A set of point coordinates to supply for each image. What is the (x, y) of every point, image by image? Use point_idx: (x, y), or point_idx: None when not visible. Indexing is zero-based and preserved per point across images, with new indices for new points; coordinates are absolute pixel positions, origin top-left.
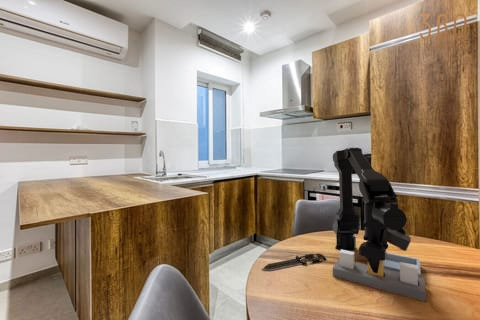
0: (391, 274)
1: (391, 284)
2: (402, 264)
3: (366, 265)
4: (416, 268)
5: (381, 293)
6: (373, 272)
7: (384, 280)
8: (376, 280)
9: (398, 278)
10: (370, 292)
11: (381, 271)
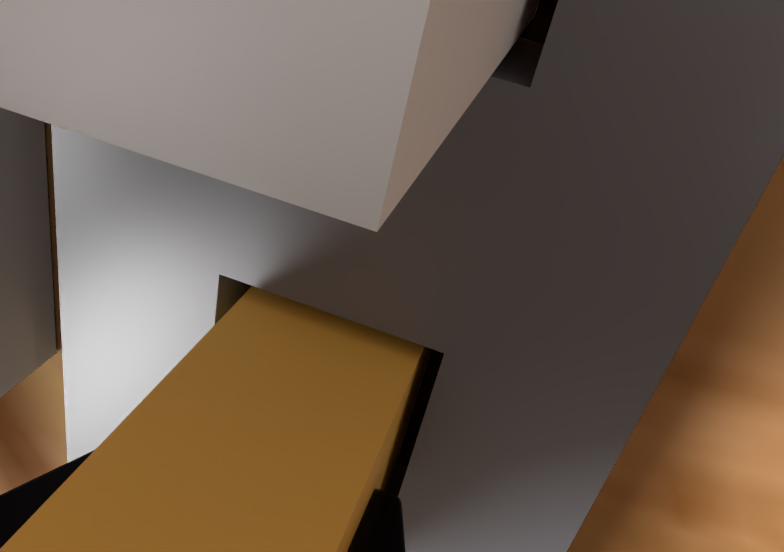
0: None
1: (700, 280)
2: (199, 31)
3: None
4: None
5: (759, 380)
6: None
7: (599, 397)
8: (588, 500)
9: None
10: (754, 516)
11: (376, 461)
